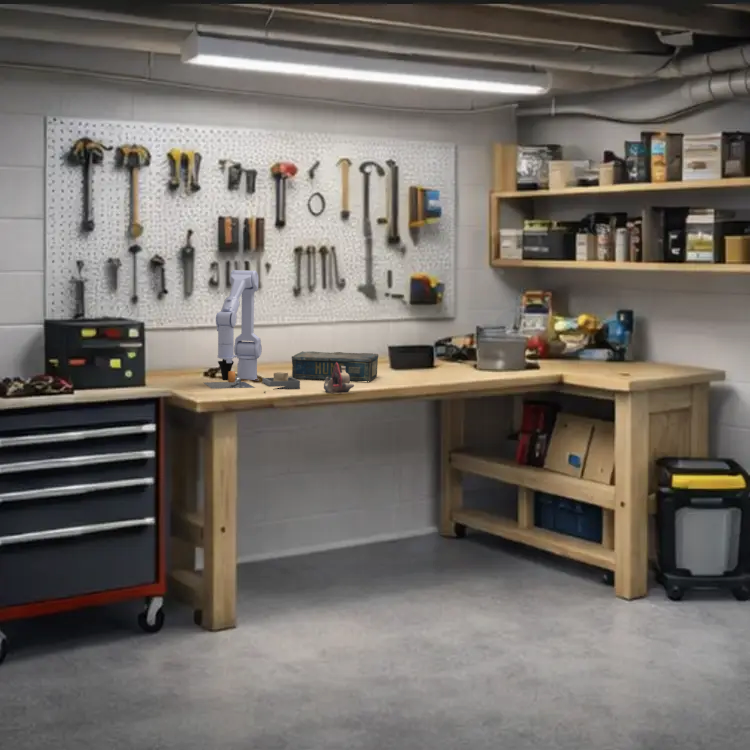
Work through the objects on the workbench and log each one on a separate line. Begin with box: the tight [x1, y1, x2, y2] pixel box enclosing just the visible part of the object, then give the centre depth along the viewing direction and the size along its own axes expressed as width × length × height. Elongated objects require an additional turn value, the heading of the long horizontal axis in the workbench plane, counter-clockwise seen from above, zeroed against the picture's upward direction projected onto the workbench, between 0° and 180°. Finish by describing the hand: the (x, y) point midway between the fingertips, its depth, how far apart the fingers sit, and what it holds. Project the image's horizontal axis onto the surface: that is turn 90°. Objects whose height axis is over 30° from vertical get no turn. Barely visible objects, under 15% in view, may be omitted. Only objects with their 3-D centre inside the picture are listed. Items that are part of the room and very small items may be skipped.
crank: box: [227, 370, 242, 385], centre depth 444 cm, size 12×4×5 cm, turn 176°
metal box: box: [291, 351, 379, 382], centre depth 480 cm, size 21×32×10 cm, turn 80°
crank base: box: [202, 381, 256, 390], centre depth 442 cm, size 18×16×1 cm
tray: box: [262, 376, 301, 390], centre depth 448 cm, size 12×12×3 cm
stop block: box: [273, 371, 289, 381], centre depth 448 cm, size 4×4×5 cm
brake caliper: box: [323, 362, 355, 395], centre depth 438 cm, size 11×11×12 cm
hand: (225, 380), depth 440 cm, fingers closed, pressing on crank
